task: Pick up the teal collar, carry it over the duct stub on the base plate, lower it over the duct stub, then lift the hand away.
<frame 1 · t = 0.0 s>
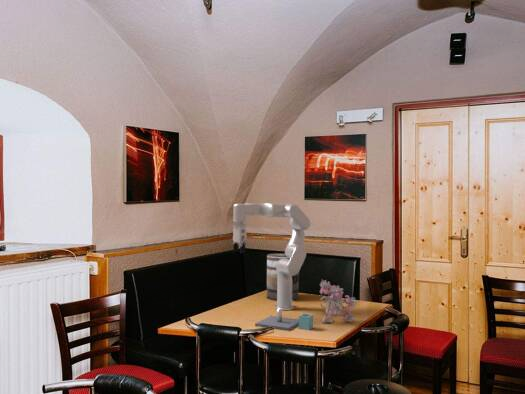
hand: (239, 252, 309), 37 cm above the table, tool pointing down, fingers open, 9 cm apart
duct stub: (279, 315, 284), on the base plate, point 5 cm above the table
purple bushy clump: (330, 313, 313), on the table
barrel: (282, 298, 358), on the table
flower: (339, 322, 291), on the table
base plate: (279, 324, 284), on the table
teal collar: (305, 327, 277), on the table
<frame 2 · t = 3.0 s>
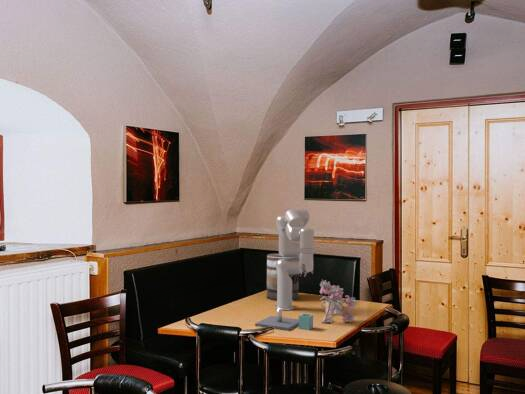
hand: (306, 282, 277), 25 cm above the table, tool pointing down, fingers open, 9 cm apart
nothing on the table moved.
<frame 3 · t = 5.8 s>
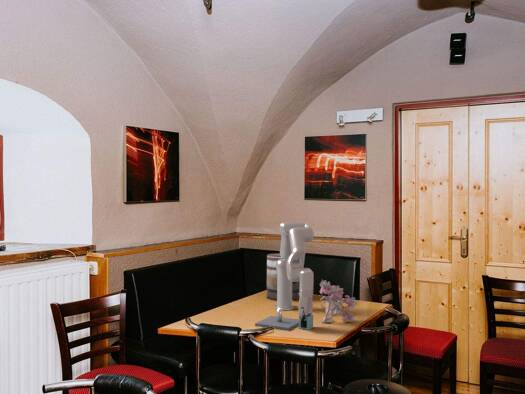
hand: (305, 325, 277), 1 cm above the table, tool pointing down, fingers closed on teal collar, 5 cm apart
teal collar: (305, 327, 277), on the table, touching gripper
everything else where it was.
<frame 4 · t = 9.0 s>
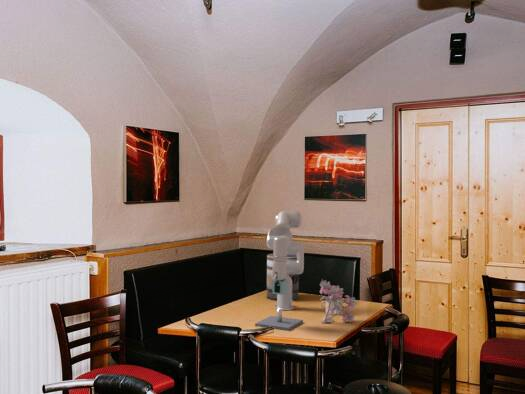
hand: (279, 291, 284), 18 cm above the table, tool pointing down, fingers closed on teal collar, 5 cm apart
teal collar: (279, 293, 284), point 17 cm above the table, touching gripper
everything else where it was.
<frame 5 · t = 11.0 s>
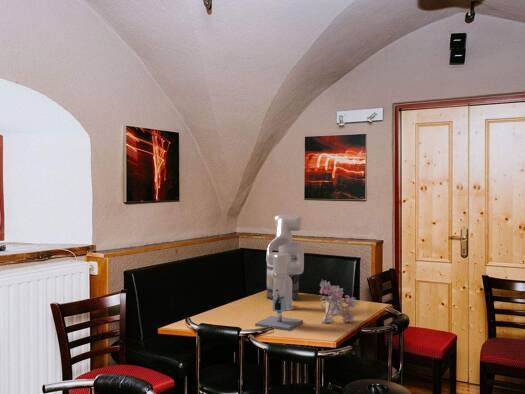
hand: (279, 308, 284), 9 cm above the table, tool pointing down, fingers closed on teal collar, 5 cm apart
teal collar: (279, 310, 284), point 8 cm above the table, touching gripper
everything else where it was.
when the fingers open (5 cm above the table, at t = 12.7 s): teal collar drops 2 cm, resting on base plate.
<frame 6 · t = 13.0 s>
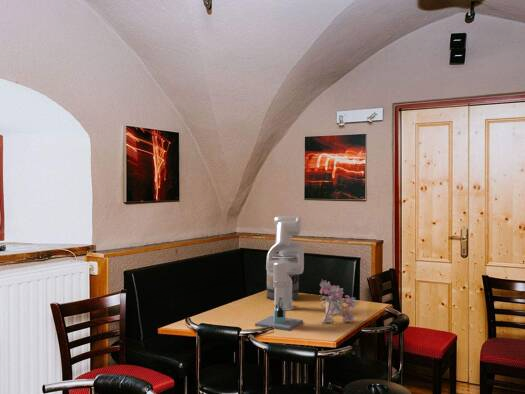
hand: (279, 315, 284), 5 cm above the table, tool pointing down, fingers open, 8 cm apart
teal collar: (279, 321, 284), point 1 cm above the table, touching base plate
everything else where it was.
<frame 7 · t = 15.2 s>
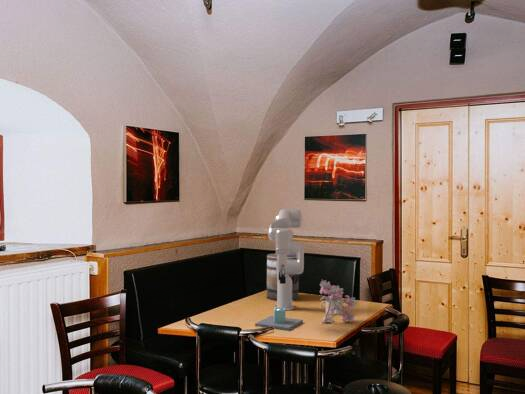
hand: (281, 281, 287), 23 cm above the table, tool pointing down, fingers open, 9 cm apart
nothing on the table moved.
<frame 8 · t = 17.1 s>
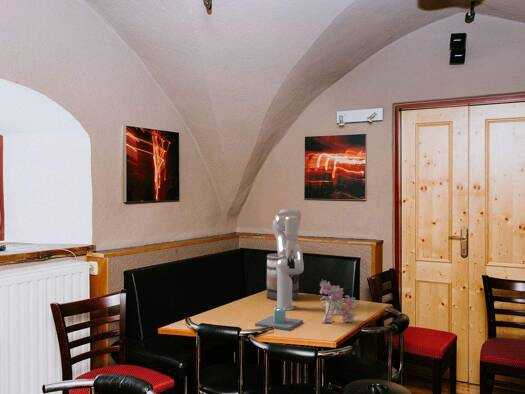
hand: (290, 267, 295), 30 cm above the table, tool pointing down, fingers open, 9 cm apart
nothing on the table moved.
at the end: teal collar 0.1 cm from the duct stub (horizontally); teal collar point 1.5 cm above the table; the gripper is holding nothing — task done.
